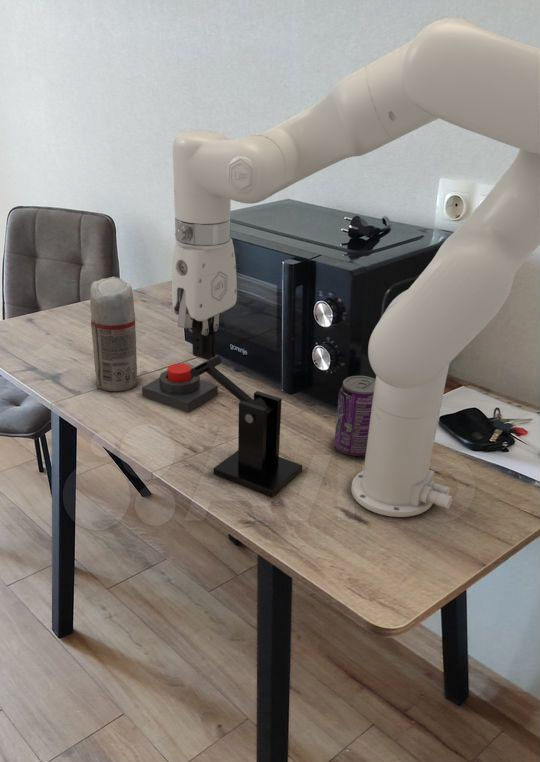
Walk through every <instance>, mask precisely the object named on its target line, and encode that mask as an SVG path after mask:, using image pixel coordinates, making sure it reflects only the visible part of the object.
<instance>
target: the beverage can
mask: <svg viewBox="0 0 540 762" xmlns="http://www.w3.org/2000/svg"><path fill="white" fill-rule="evenodd" d="M375 380H376V378H374V377H371V376H366V375H352V376H348V377H346V378H345V379H343V381H342V386H341V388H340V389H339V392H338V400H337V410H336V419H335V429H334V441H333V444H334V446H335V448H336V449H337V450H338V451H340V452H341V453H344V454H345V455H349V456H356V457H360V456H366V448H367V440H368V433H369V425H370V417H371V409H372V401H373V395H374V387H375Z"/></svg>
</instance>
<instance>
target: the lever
mask: <svg viewBox="0 0 540 762" xmlns="http://www.w3.org/2000/svg"><path fill="white" fill-rule="evenodd" d="M222 363H223V361H222V358H221V356H220V355H217V354H216V356H215V357H213V358H211V359H209V360H205V361H203V362H201V363H199V364H198V365H196V366H193V367H191V375H192V376H193V377H198V376H199V375H200V376H201V375H203V374H205V373H207V374H208V375H209V376H210V377H211V378H213V379H214V380H215V381H216V382H217V383H219V384H220V385H221V386H222V387H223V388H224V389H225V390H227V391H228V392H229V393H230V394H231V395H233V396H234V397H235V398H236V399H237V400H239V401H240V402H241V401H246V402H249V403H252V404H255V405H258V406H261V407H264V408H267V420H268V419H269V417H270V415H271V413H272V412H273V410H274V409H273V408H272V407H271V406H270V405H269V404H267V403H266V402H265V401H264V400H263V399H261V398H259V399H257V400H255V401H254V398H252V397H251V396H249V395H248V394H247V393H246V392H245V391H244V390H242V389H241V388H240V387H239V386H238V385H237V384H236V383H234V382H233V381H232V380H231V379H230V378H228V377H227V376H226V375H225V374H224V373H223V372H221V371H220V370H219V369H218V368H216V367H217V366H219V365H221V364H222Z"/></svg>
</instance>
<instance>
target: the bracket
mask: <svg viewBox="0 0 540 762" xmlns="http://www.w3.org/2000/svg"><path fill="white" fill-rule="evenodd" d="M259 398H261V399H263V400H264V401H265V402H266V403H267V404H269V405H270V406H271V407H272V408H273V409H274V410H273V412H272V413H271V415H270V417H269V419H268V420H267V408H264V407H261V406H258V405H255V404H252V403H249V402H246V401H240V402H238V431H237V432H238V434H237V436H238V438H237V439H238V441H237V443H238V445H237V451H235V452H234V453H232V454H230V455H229V456H228V457H227V458H225V459H224V460H222V461H221V462H220V463H218V464H217V465H215V466H214V467H213V475H214V476H217V477H219V478H222V479H225V480H227V481H230V482H232V483H234V484H236V485H240V486H242V487H245V488H247V489H250V490H252V491H255V492H257V493H260V494H262V495H264V496H267V497H270V498H273V497H275V495H277V494H278V493H279V492H280V491H281V490H283V489H284V488H285V487H286V486H287V485H288V484H290V483H291V482H292V481H293V480H294V479H295V478H297V476H299V475H300V474H301V473H302V472H303V464H300V463H297V462H295V461H292V460H289V459H287V458H284V457H281V456H280V442H281V441H280V440H281V439H280V438H281V420H282V419H281V418H282V402H283V401H282V398H281V397H278V396H274V395H271V394H268V393H265V392H262V391H260V390H256V391H255V392H253V400H254V401H255V400H257V399H259Z"/></svg>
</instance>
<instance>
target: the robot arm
mask: <svg viewBox="0 0 540 762" xmlns="http://www.w3.org/2000/svg"><path fill="white" fill-rule="evenodd" d="M436 120H442V121H443V122H447V123H449V124H452V125H454V126H456V127H458V128H461V129H463V130H467V131H469V132H473V133H475V134H478V135H481V136H484V137H486V138H489V139H491V140H494V141H497V142H499V143H502V144H505V145H508V146H510V147H513V148H516V149H519V151H518V153H517V155H516V157H515V159H514V160H513V162H512V163H511V165H510V166H509V167H508V169H507V170H506V171H505V172H504V174H503V175H502V176H501V178H500V179H499V180H498V181H497V182H496V184H495V185H494V186H493V187H492V189H491V191H490V192H489V193H488V194H487V195H486V197H485V198H484V199H483V200H482V202H480V204H479V205H478V206H477V207H476V208H475V209H474V210H473V212H471V214H470V215H469V216H468V217H467V218H466V220H464V222H463V223H462V224H461V225H460V226H458V228H457V229H456V230H455V231H454V232H452V234H450V235H449V236H448V237H447V238H446V239H445V240H444V241H443V243H442V244H441V246H440V247H439V249H438V250H437V252H436V253H435V255H434V257H433V258H432V260H431V261H430V262H429V263H428V265H427V266H426V268H425V269H424V270H423V271H422V272H421V273H420V274H419V275H418V277H417V278H416V279H415V280H414V282H413V283H412V284H411V285H410V287H408V289H406V290H403V291H402V292H401V293H400V294H398V295H397V296H396V297H395V298H394V299H392V301H391V302H390V303H389V305H388V306H387V308H386V309H385V311H384V312H383V313H382V315H381V317H380V319H379V321H378V322H377V324H376V325H375V327H374V329H373V330H372V333H371V334H370V338H369V341H368V347H367V355H368V362H369V364H370V367H371V369H372V371H373V373H374V374H375V379H376V380H375V387H374V395H373V401H372V409H371V417H370V425H369V433H368V440H367V448H366V455H364V465H363V470H361V471H360V472H358V473H357V474H355V476H354V477H353V478H352V481H351V486H350V490H351V491H350V492H351V494H352V497H353V499H354V500H355V501H356V502H357V503H358V504H359V505H360V506H362V507H363V508H365V509H367V510H368V511H370V512H372V513H375V514H378V515H382V516H386V517H391V518H407V517H414V516H418V515H420V514H423V513H425V512H427V511H428V510H429V509H430V508H431V507H432V506H433V505H434V504H435V505H436V506H438V507H441V508H445V509H449V508H450V507H451V504H452V501H453V495H450V492H451V487H449V486H446V485H443V484H439V483H436V480H434V476H435V471H434V470H432V469H430V467H431V460H432V456H433V450H434V445H435V441H436V434H437V429H438V423H439V419H440V418H439V416H440V412H441V409H442V403H443V398H444V394H445V387H446V382H447V378H448V374H449V373H448V372H449V368H450V363H451V362H452V361H453V360H454V359H455V358H456V357H457V356H458V355H459V354H460V353H461V352H462V351H463V350H464V349H465V348H466V347H467V346H468V345H469V344H470V343H471V342H472V341H473V340H474V339H475V338H476V337H477V336H478V334H480V333H481V332H482V330H483V329H485V328H486V326H488V324H489V323H490V322H491V321H492V320H493V319H494V318H495V316H496V315H497V314H498V313H499V311H500V310H501V309H502V307H503V306H504V304H505V303H506V301H507V300H508V297H509V295H510V293H511V290H512V286H513V283H514V279H515V276H516V274H517V272H518V271H519V270H520V268H521V267H522V265H523V264H524V263H525V262H526V261H527V259H528V258H529V257H530V256H531V255H532V254H533V253H534V252H535V251H536V250H537V248H539V246H540V48H539V47H536V46H532V45H529V44H526V43H524V42H521V41H518V40H514V39H512V38H508V37H507V36H504V35H500V34H497V33H496V32H493V31H490V30H487V29H485V28H482V26H481V25H479V23H476V22H475V21H473V20H471V19H468V18H464V17H463V18H462V17H461V18H460V17H444V18H441V19H438V20H436V21H434V22H431V23H430V24H428V25H426V26H425V27H424V28H423V29H421V31H420V32H418V34H417V35H416V36H415V37H414V38H413V39H411V40H410V41H408V42H406V43H404V44H403V45H401V46H399V47H397V48H396V49H394V50H392V51H390V52H388V53H387V54H384V55H383V56H381V57H380V58H378V59H376V60H375V61H373V62H370V63H369V64H366V65H365V66H363V67H361V68H359V69H357V70H356V71H354V72H351V73H350V74H348V75H346V76H344V77H343V78H341V79H340V80H339V81H337V82H336V83H335V84H334V85H333V87H332V88H331V89H330V90H329V92H328V93H327V94H326V95H325V96H323V98H322V99H320V100H319V101H317V102H316V103H314V104H313V105H311V106H309V107H307V108H306V109H304V110H303V111H301V112H299V113H297V114H295V115H294V116H293V115H292V117H289V118H288V119H286V120H284V121H282V122H281V123H279V124H277V125H275V126H273V127H271V128H269V129H267V130H264V131H261V132H258V133H255V134H252V135H249V136H245V137H241V138H237V139H229V137H228V136H226V134H224V133H221V132H218V131H212V130H196V129H195V130H186V131H181V132H179V133H178V134H176V136H175V137H174V139H173V142H172V167H173V196H174V197H173V198H174V199H173V201H174V230H175V231H174V232H175V233H174V236H175V243H176V244H174V250H173V257H172V258H173V259H172V271H171V303H172V310H173V313H174V314H175V315H176V316H177V317H178V318H177V327H178V328H182V329H185V330H186V329H189V332H191V337H192V338H191V339H192V341H191V343H192V355H193V356H194V357H197V358H200V359H203V360H205V361H207V360H209V359H211V358H213V357H215V356H216V355H217V331H218V329H219V325H220V318H221V316H222V314H224V313H225V312H226V311H227V310H229V309H231V308H233V307H234V306H235V305H236V303H237V300H238V279H237V277H238V276H237V275H238V274H237V263H236V262H237V261H236V254H235V253H236V251H235V247H234V242H233V238H231V207H232V206H231V201H234V202H237V203H241V204H247V205H248V204H251V205H252V204H257V203H260V202H263V201H264V200H267V199H268V198H270V197H272V196H274V195H275V194H277V193H279V192H280V191H281V192H282V191H283V190H285V189H287V188H288V187H290V186H292V185H294V184H296V183H298V182H300V181H302V180H304V179H306V178H309V177H310V176H312V175H314V174H316V173H318V172H320V171H322V170H324V169H326V168H328V167H331V166H332V165H334V164H338V163H339V162H341V161H343V160H346V159H349V158H355V157H362V156H364V155H366V154H368V153H371V152H373V151H375V150H378V149H379V148H381V147H384V146H385V145H387V144H389V143H391V142H393V141H396V140H397V139H400V138H401V137H404V136H406V135H408V134H410V133H411V132H414V131H416V130H418V129H420V128H422V127H425V126H426V125H428V124H430V123H432V122H434V121H436Z"/></svg>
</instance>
